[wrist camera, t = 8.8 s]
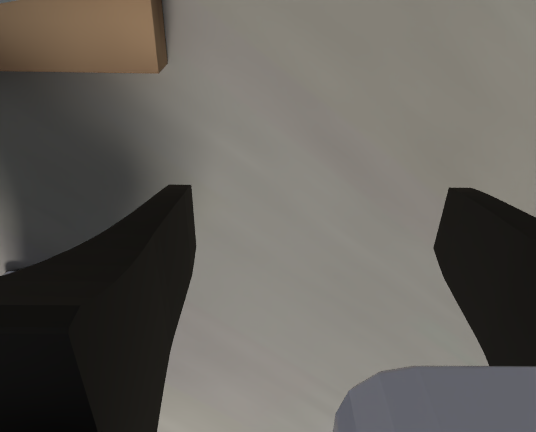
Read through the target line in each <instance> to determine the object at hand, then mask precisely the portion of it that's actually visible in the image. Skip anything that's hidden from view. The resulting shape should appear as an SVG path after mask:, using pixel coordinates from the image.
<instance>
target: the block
mask: <svg viewBox="0 0 536 432" xmlns="http://www.w3.org/2000/svg"><path fill="white" fill-rule="evenodd" d="M11 1H16V0H0V3H5V2H11Z"/></svg>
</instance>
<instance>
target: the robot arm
mask: <svg viewBox="0 0 536 432" xmlns="http://www.w3.org/2000/svg"><path fill="white" fill-rule="evenodd" d="M195 251H196V237H195V225H194V213H193V201H192V189H191V185H168V186H166V187H165V188H164V189H162V190H161V191H160V192H158V193H157V194H156V195H154V196H153V197H152V198H151V199H149V200H148V201H147V202H145V203H144V204H143V205H142V206H140V207H139V208H138V209H136V210H135V211H134V212H132V213H131V214H129V215H128V216H126V217H125V218H123V219H122V220H121V221H119V222H118V223H116V224H115V225H113V226H112V227H110V228H109V229H107V230H105V231H104V232H102V233H100V234H99V235H97V236H95V237H94V238H92V239H90V240H88V241H86V242H84V243H82V244H80V245H78V246H76V247H74V248H72V249H70V250H68V251H66V252H63V253H61V254H59V255H56V256H54V257H52V258H49V259H47V260H45V261H42V262H40V263H37V264H35V265H32V266H29V267H26V268H23V269H21V270H18V271H8V272H6V273H4V275H2V276H0V432H157V427H158V421H159V414H160V408H161V402H162V396H163V390H164V383H165V378H166V372H167V366H168V361H169V355H170V350H171V346H172V342H173V338H174V335H175V331H176V328H177V325H178V321H179V318H180V314H181V311H182V308H183V304H184V301H185V298H186V294H187V291H188V287H189V284H190V280H191V277H192V272H193V265H194V258H195ZM434 251H435V254H436V257H437V260H438V263H439V266H440V269H441V271H442V274H443V277H444V279H445V281H446V283H447V285H448V286H449V288H450V290H451V292H452V294H453V296H454V298H455V300H456V301H457V303H458V305H459V307H460V309H461V310H462V312H463V314H464V316H465V318H466V320H467V321H468V323H469V325H470V327H471V329H472V330H473V332H474V334H475V336H476V338H477V340H478V342H479V344H480V346H481V348H482V350H483V352H484V354H485V356H486V359H487V361H488V364H489V366H410V367H404V368H398V369H392V370H386V371H381V372H378V373H377V374H375V375H373V376H372V377H370V378H368V379H366V380H365V381H363V382H361V383H360V384H358V385H356V386H355V387H353V388H352V389H351V390H349V391H348V393H347V395H346V397H345V398H344V400H343V402H342V404H341V405H340V407H339V409H338V410H337V412H336V415H335V422H334V428H333V432H536V217H533V216H531V215H529V214H527V213H525V212H523V211H521V210H519V209H517V208H515V207H513V206H511V205H509V204H507V203H505V202H503V201H501V200H499V199H497V198H495V197H492V196H490V195H488V194H486V193H483V192H481V191H478V190H476V189H473V188H449V189H448V193H447V197H446V201H445V205H444V209H443V213H442V217H441V221H440V225H439V229H438V232H437V236H436V240H435V244H434Z"/></svg>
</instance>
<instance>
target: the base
mask: <svg viewBox="0 0 536 432" xmlns="http://www.w3.org/2000/svg"><path fill="white" fill-rule="evenodd" d="M167 64H168V62H167V52H166V41H165V31H164V21H163V11H162V1H161V0H16V1H11V2H5V3H0V71H28V72H97V73H160V71H161V70H162V69H163V68H164V67H165V66H166V65H167Z"/></svg>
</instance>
